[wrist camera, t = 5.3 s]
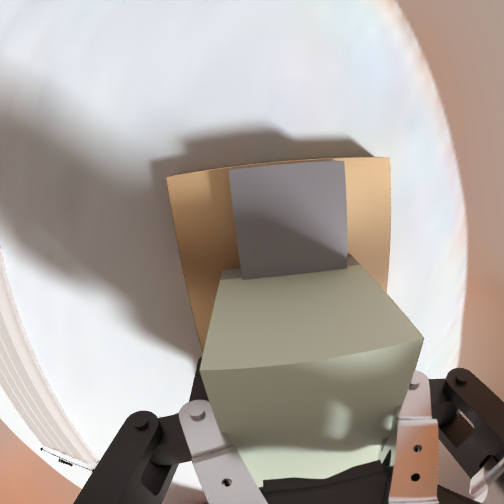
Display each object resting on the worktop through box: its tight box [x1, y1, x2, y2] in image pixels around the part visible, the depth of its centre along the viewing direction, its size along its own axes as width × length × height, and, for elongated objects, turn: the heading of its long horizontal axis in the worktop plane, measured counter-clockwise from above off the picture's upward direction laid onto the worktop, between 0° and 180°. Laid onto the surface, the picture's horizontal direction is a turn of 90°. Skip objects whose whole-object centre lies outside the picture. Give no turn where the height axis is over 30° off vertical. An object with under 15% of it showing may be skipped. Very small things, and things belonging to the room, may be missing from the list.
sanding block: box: [199, 256, 424, 488], centre depth 10 cm, size 8×6×6 cm
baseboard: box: [0, 247, 99, 472], centre depth 15 cm, size 30×3×10 cm
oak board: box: [166, 157, 391, 352], centre depth 14 cm, size 20×9×2 cm, turn 6°
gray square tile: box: [228, 160, 347, 280], centre depth 10 cm, size 4×4×1 cm
